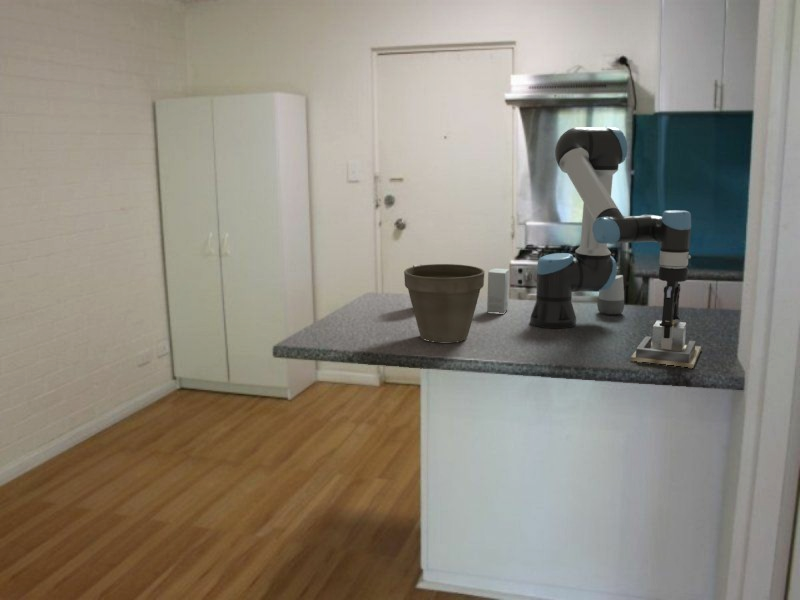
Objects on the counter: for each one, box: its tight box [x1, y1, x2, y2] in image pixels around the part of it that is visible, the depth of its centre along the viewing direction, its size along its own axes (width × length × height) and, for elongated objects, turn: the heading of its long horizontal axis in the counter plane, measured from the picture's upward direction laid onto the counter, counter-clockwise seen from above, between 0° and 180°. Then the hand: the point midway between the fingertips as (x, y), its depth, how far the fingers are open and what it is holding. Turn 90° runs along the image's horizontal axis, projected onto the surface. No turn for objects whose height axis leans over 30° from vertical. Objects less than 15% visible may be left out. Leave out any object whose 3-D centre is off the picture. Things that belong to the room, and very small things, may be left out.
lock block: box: [651, 319, 687, 351], centre depth 205 cm, size 8×8×7 cm
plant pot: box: [403, 263, 485, 343], centre depth 224 cm, size 25×25×22 cm
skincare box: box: [486, 267, 510, 313], centre depth 261 cm, size 8×7×16 cm
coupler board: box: [630, 335, 702, 369], centre depth 204 cm, size 16×20×4 cm
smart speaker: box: [596, 274, 625, 316], centre depth 257 cm, size 10×9×14 cm
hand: (668, 345), depth 206 cm, fingers closed on lock block, 8 cm apart
